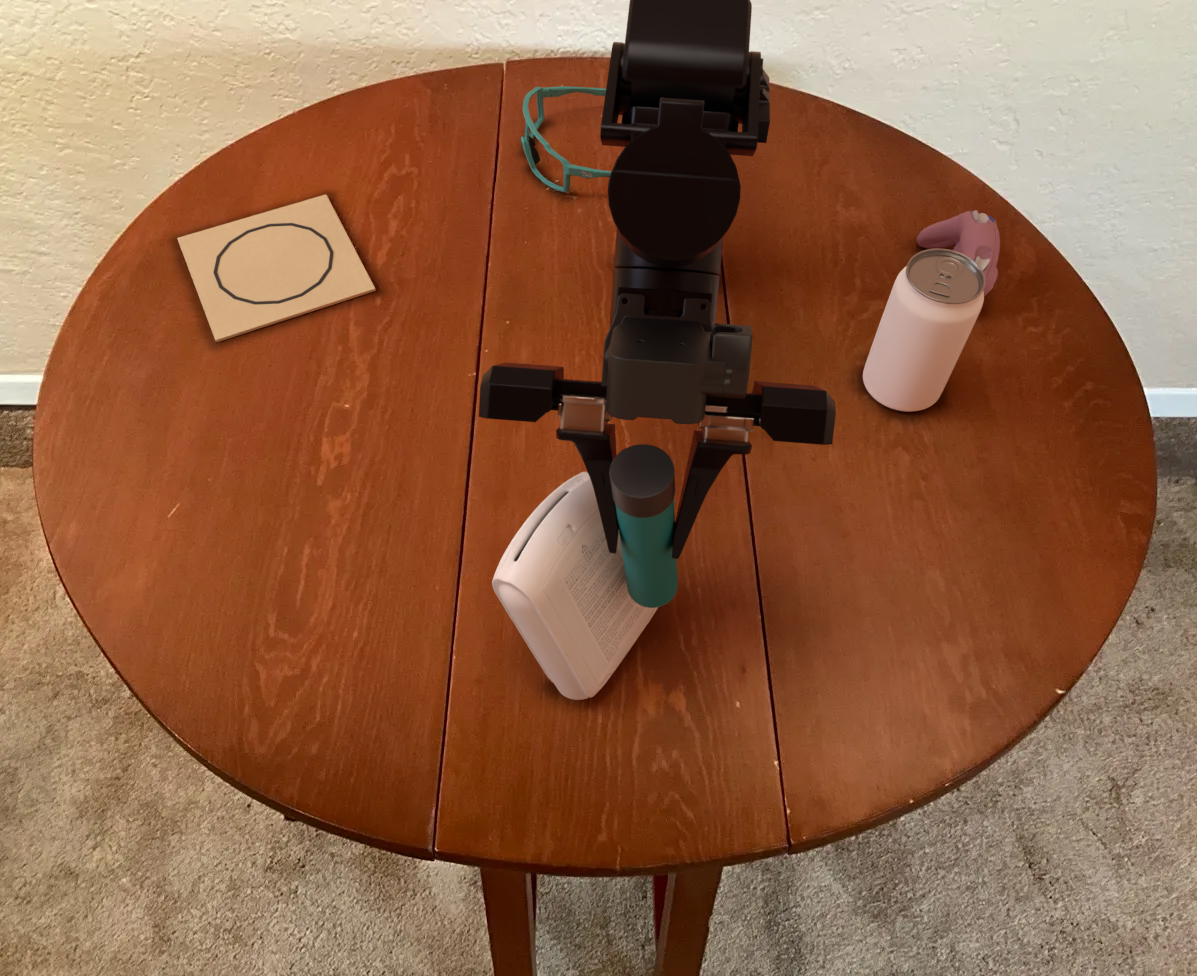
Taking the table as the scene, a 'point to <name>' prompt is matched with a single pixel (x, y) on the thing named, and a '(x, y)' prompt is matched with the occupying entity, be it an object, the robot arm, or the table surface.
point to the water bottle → (646, 522)
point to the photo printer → (570, 591)
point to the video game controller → (968, 240)
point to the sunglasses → (532, 152)
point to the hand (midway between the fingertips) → (643, 554)
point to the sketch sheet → (273, 267)
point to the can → (924, 329)
